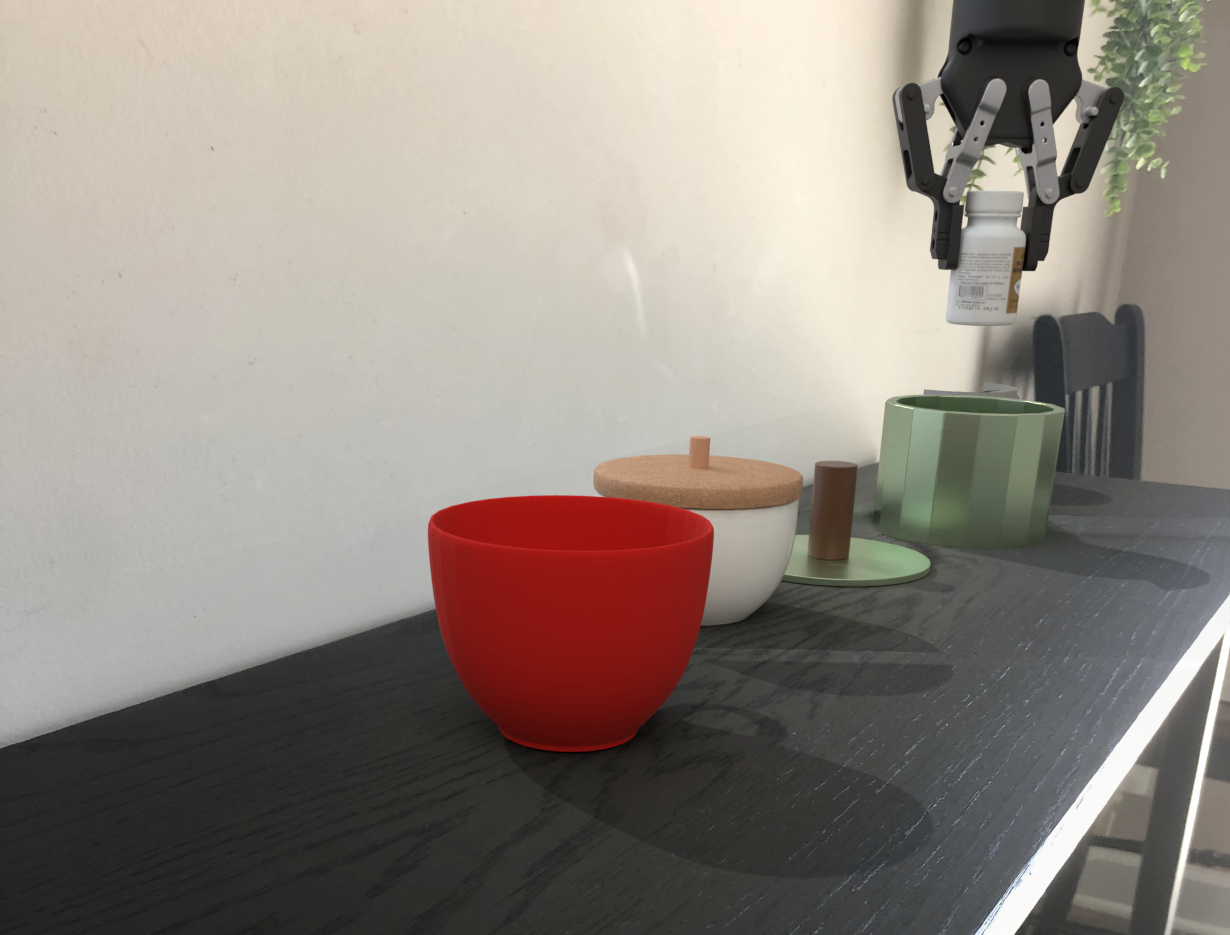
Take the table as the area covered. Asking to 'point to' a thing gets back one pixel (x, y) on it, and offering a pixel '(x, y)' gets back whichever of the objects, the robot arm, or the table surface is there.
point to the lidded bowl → (721, 516)
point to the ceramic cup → (569, 611)
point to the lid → (846, 540)
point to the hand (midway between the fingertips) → (987, 268)
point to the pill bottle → (988, 261)
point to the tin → (967, 470)
